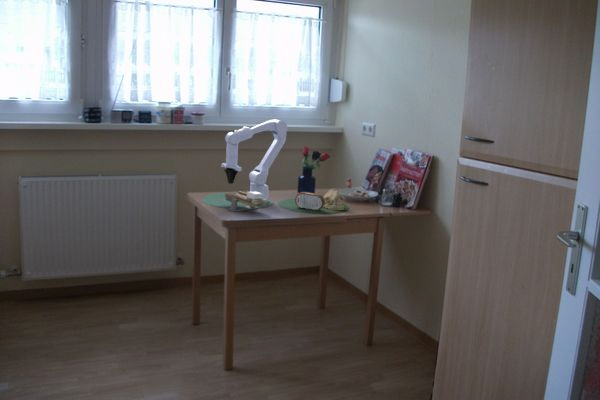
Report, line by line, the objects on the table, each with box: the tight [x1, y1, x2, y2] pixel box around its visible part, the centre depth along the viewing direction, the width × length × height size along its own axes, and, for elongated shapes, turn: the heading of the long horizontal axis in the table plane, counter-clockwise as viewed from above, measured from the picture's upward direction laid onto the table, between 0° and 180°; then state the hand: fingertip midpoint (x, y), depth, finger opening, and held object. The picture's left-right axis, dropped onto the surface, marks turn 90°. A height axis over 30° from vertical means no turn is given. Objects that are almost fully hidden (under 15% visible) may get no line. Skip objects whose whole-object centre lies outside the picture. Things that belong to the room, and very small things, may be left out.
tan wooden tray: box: [224, 190, 269, 207], centre depth 292 cm, size 10×22×4 cm, turn 43°
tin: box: [294, 191, 325, 211], centre depth 303 cm, size 15×3×8 cm, turn 71°
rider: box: [246, 190, 263, 201], centre depth 286 cm, size 5×6×4 cm
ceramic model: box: [322, 188, 345, 211], centre depth 311 cm, size 14×11×10 cm
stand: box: [228, 198, 259, 213], centre depth 293 cm, size 14×5×6 cm, turn 133°
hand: (230, 183), depth 305 cm, fingers closed
